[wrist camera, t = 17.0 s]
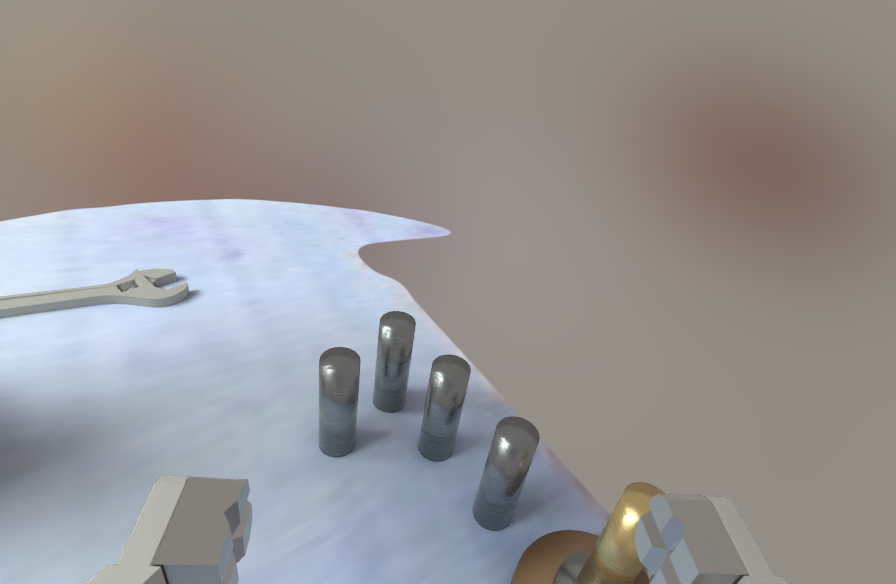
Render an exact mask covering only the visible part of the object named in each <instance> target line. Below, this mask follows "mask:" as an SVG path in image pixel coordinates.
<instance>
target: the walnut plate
mask: <svg viewBox="0 0 896 584" xmlns="http://www.w3.org/2000/svg"><path fill="white" fill-rule="evenodd" d="M598 538H599V537H598V536H596V535H593V534H590V533H586V532H582V531H574V530H563V531H557V532H552V533H549V534H546V535H544V536H542V537H540V538H539V539H537V540H536V541H535V542H533V543H532V544H531V545H530V546H529V547H528V548H527V550H526V551H525V552H524V554H523V555H522V557H521V559H520V561H519V563H518V566H517V568H516V570H515V573H514V576H513V579H512V582H511V584H552V581H553V579H554V577H555V575H556V573H557V571H558V569H559V567H560V565H561V563H562V562H563V560H564V559H565V558H566V557H567V556H568V555H570V554H571V553H573V552H576V551H580V550H592V549H593V547H594V545H595V543H596V541H597V540H598ZM649 583H650V580H649V578H648V577H647V575H646V574H645V573H644V571H643V570H642V569H641V571H640V572H639V574H638V575H637V577H636V578H635V580H634V581H633V584H649Z"/></svg>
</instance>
